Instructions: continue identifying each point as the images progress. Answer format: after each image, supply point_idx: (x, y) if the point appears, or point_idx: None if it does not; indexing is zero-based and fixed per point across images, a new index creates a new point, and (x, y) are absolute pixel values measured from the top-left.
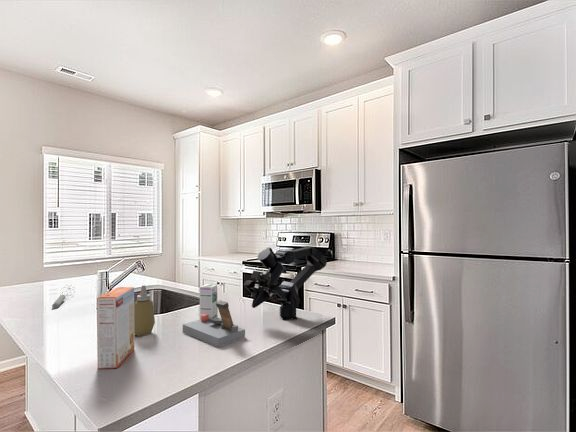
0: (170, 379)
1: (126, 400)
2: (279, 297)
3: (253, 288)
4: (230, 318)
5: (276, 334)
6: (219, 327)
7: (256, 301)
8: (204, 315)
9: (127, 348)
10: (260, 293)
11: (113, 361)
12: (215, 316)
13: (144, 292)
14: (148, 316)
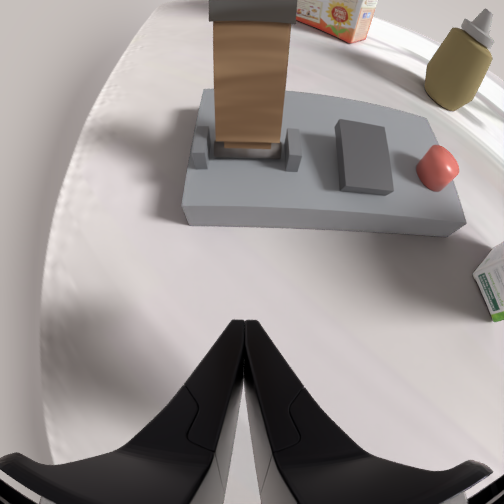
0: (172, 30)
1: (179, 9)
2: (13, 498)
3: (443, 476)
4: (214, 92)
5: (97, 359)
6: (311, 149)
7: (205, 360)
8: (436, 151)
9: (318, 14)
10: (152, 464)
11: None
12: (491, 301)
13: (477, 18)
14: (441, 56)
